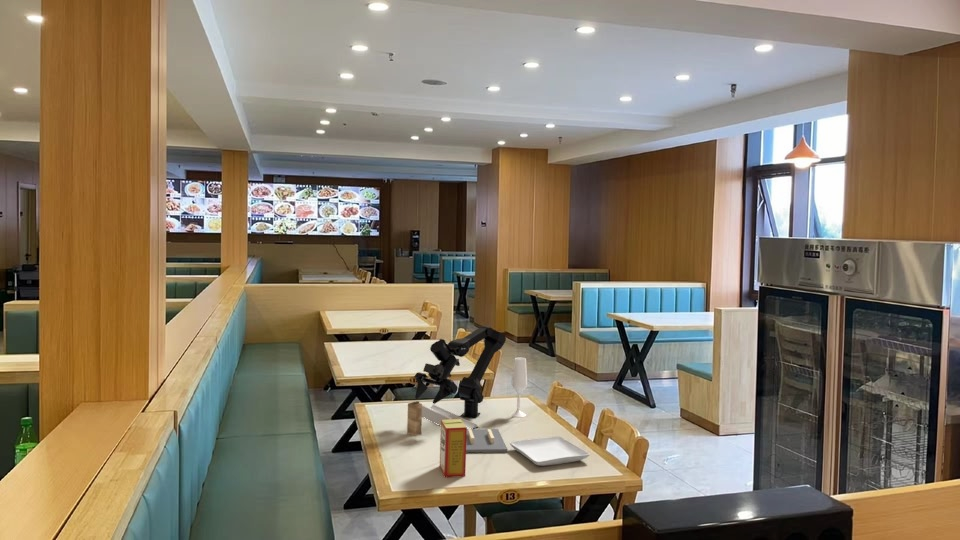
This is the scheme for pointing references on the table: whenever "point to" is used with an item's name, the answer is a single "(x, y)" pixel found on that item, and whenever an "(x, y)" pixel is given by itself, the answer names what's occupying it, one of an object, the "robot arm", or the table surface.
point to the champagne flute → (519, 382)
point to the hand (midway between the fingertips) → (424, 400)
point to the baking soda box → (453, 447)
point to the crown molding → (442, 416)
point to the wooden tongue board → (414, 418)
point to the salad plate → (549, 450)
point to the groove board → (485, 441)
